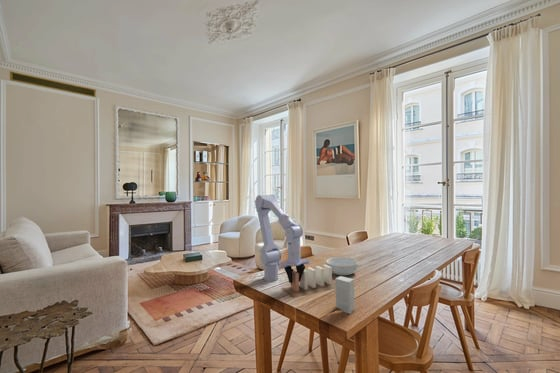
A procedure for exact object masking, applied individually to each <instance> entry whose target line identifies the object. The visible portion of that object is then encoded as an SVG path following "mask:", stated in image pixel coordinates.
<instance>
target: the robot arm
mask: <svg viewBox="0 0 560 373" xmlns="http://www.w3.org/2000/svg"><path fill="white" fill-rule="evenodd" d="M254 203H255V210H256V212H257V216H258V222H259V228H260V233H261V238H262V242H263V246H262V247H261V248H260V250H259V252H260V262H261V263H262V264H263V268H264V269H263V270H264V271H263V274H264V275H263V276H262V279H263V280H264V281H265V282H269V283H270V282H273V283H274V282H277V281H279V269H284V271H285V273H286V275H287V280H288V282H289V283H290V284H291V283H292V274H293V270H294V269H293V267H295V269H296V270H295V271H296V272H298V273H299V282H300V281H301V277H302V274H303V271H304V270H306V266H305V265H309V264H310V260H309V259H307V258H303V259H302V256H301V237H302V236H303V235H304V233H303V227H302V226H301V225H300V224H297V223H295V221H294V220H293V219H292V218H291V215H289V214H287V213H285V212H284V211H283V210H282V208H281V206H280V205H279V203H278V198H276V195H275V194H267V195H266V194H265V195H263V194H262V195H257V196H256V197H255V200H254ZM271 211H272V212H273V214H274V215H275V216H276V217H277V218H278V219H277V221H278V222H277V223H279V224H280V226H281V227H282V229H283V230H284V236H285V238H286V242H287V261H286V260H285V261H282V262H280V261H281V260H282V253H281V250H280V247H279V245H277V244H276V243H275V242H274V237H273V233H272V232H273V231H272V226H271V222H270V216H269V213H270V212H271Z"/></svg>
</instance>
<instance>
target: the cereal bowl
mask: <svg viewBox="0 0 560 373" xmlns="http://www.w3.org/2000/svg"><path fill="white" fill-rule="evenodd" d="M358 262H359V261H358V260H356V259H355V258H351V257H344V256H336V257H335V256H334V257H329V258H327V259H326V263H325V265H328V266H330V267H332V275H333V274H334V275H337V276H349V275H352V274H354V273H355V272H356V271H357V270H358V268H359V266H358V264H359V263H358Z"/></svg>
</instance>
